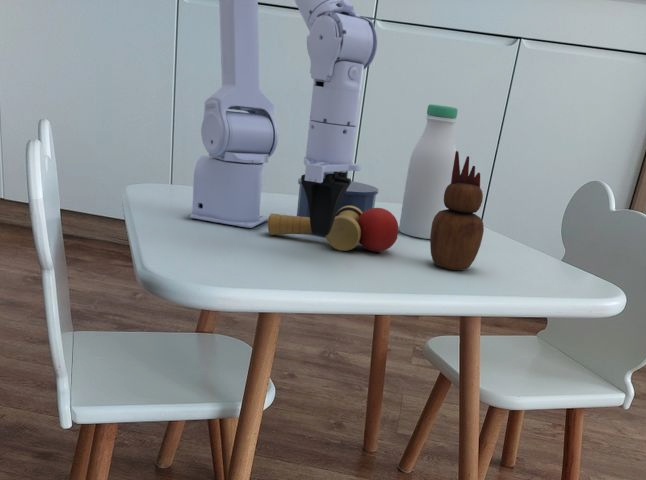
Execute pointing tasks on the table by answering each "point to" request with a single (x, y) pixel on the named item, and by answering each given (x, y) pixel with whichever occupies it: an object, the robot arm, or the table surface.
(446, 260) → the wooden figurine
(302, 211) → the pot
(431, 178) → the milk bottle
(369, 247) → the kendama
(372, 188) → the pot lid
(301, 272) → the table surface
